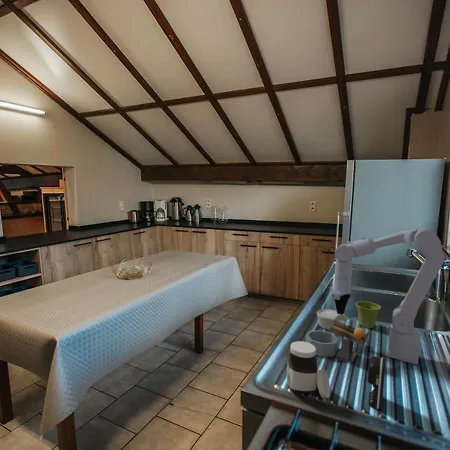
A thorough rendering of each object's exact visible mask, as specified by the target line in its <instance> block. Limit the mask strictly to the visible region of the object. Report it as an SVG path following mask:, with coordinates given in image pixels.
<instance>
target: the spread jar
mask: <svg viewBox="0 0 450 450" xmlns="http://www.w3.org/2000/svg"><path fill="white" fill-rule="evenodd" d="M289 349H290V350H289V351H288V354H287V366H286V367H287V369H286V380H287V381H286V383H287V386H288V388H289V390H291V391H292V392H295V393H297V394H300V395H308V394H312V393H314V392H315V391H316V390H317V389H318V392H319V395H320V397H321V398H322V399H329V398H330V396H331V384H330V378H329V375H328V372H327V371H326V369H318V360H317V355H315V354H316V348H315V346H314V345H312V344H310V343H307V342H305V341H301V340H299V341H298V340H297V341H293V342H291V344H290V348H289Z"/></svg>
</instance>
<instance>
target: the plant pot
mask: <svg viewBox="0 0 450 450" xmlns="http://www.w3.org/2000/svg"><path fill="white" fill-rule="evenodd" d="M355 305H356V309H357V318H358V319H357V321H358V325H359V326H360V325H361V327H363V328H365V327H366V328H365V329H372V328H375V325H376V321H377V318H378V313H379V312H380V310H381V309H382V308H381V305H379V304H377V303H376V302H375V303H374V302H370V301H363V300H362V301H357V302H355Z"/></svg>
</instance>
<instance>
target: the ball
mask: <svg viewBox="0 0 450 450" xmlns="http://www.w3.org/2000/svg"><path fill="white" fill-rule="evenodd" d="M353 330H354V335H355V337H358V338H360V339H363V338H364V337H365V335H366V333H367V332H366V330H365V328H362V327H357V328H355V329H353Z"/></svg>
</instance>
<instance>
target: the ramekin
mask: <svg viewBox="0 0 450 450" xmlns="http://www.w3.org/2000/svg"><path fill="white" fill-rule="evenodd" d="M316 315H317V323H318V325H319V327H320V326H321V327H320V328H322V329H324V328H325V329H324V330H326V329H327V331H330V328H331V326H332V327H333V325H334V322H333V321H334V319H335V318H336V317H337V316H338V315H339V314H337V311H336V310H334V309H325V308H323V309H319V310H318V311H317V312H316ZM343 315H345V316H346V314H345V313H344V314H343ZM344 324H345V323H344ZM344 324H343V326H345V325H344Z"/></svg>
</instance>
